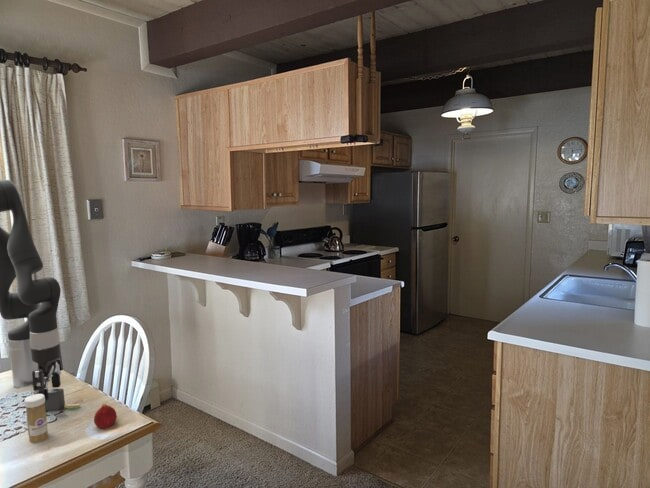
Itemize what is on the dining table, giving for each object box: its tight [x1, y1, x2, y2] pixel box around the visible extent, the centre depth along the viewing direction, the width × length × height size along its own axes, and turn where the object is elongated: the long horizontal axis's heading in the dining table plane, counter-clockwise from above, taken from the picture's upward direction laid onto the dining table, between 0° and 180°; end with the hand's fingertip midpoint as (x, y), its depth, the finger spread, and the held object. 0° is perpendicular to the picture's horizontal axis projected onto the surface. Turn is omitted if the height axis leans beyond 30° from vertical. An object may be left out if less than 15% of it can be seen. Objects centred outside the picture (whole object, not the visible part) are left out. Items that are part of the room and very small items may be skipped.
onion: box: [93, 402, 118, 430], centre depth 124 cm, size 6×6×8 cm
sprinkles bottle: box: [24, 394, 49, 444], centre depth 117 cm, size 5×5×13 cm
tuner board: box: [54, 398, 85, 420], centre depth 133 cm, size 16×15×2 cm
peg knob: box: [32, 388, 81, 413], centre depth 133 cm, size 13×2×6 cm, turn 98°
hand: (50, 393), depth 133 cm, fingers open, 8 cm apart
